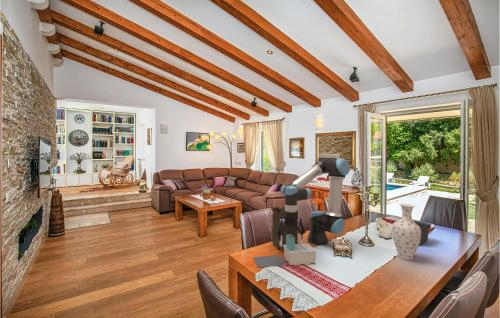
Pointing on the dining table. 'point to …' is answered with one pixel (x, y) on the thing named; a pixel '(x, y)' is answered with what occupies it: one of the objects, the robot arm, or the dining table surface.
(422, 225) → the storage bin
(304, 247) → the lid
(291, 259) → the tub
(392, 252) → the dining table surface
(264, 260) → the mat
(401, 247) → the vase
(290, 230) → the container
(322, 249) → the dining table surface
